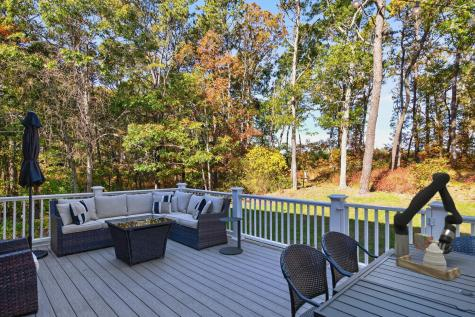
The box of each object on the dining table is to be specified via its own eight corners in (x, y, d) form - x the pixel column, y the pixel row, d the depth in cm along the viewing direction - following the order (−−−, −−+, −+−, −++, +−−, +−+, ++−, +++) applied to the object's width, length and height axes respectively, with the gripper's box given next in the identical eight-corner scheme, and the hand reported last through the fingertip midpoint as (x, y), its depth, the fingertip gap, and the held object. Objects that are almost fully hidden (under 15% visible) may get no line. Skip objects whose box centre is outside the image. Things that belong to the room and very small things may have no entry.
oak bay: (409, 261, 198) (409, 254, 198) (460, 275, 171) (460, 267, 171) (396, 265, 190) (396, 258, 190) (447, 281, 163) (447, 272, 163)
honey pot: (438, 264, 191) (437, 238, 192) (451, 271, 178) (450, 243, 179) (419, 264, 192) (418, 238, 193) (430, 270, 179) (429, 243, 180)
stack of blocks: (445, 254, 214) (444, 238, 215) (439, 255, 213) (438, 239, 213) (420, 247, 235) (419, 232, 236) (414, 247, 233) (414, 233, 234)
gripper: (434, 232, 200) (426, 251, 193) (455, 236, 188) (448, 256, 182) (438, 238, 202) (430, 258, 196) (459, 242, 191) (452, 263, 184)
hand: (438, 257), depth 189 cm, fingers closed
